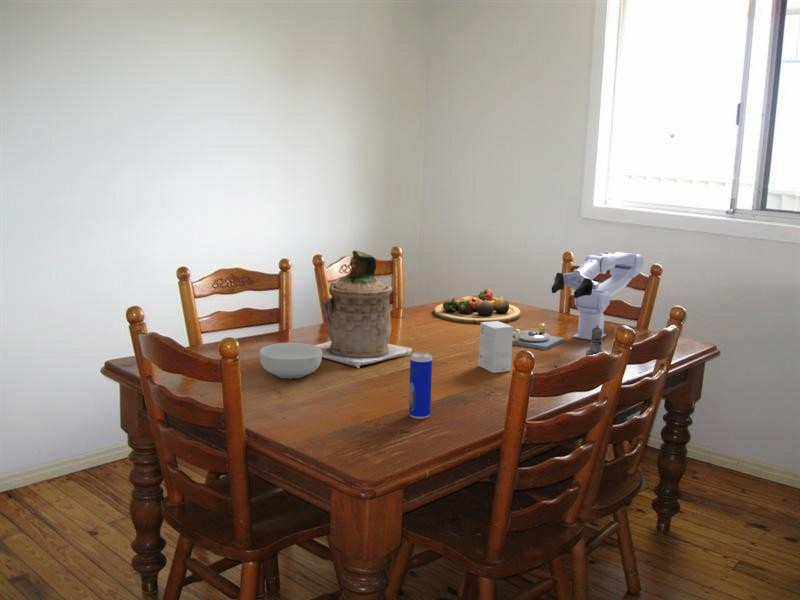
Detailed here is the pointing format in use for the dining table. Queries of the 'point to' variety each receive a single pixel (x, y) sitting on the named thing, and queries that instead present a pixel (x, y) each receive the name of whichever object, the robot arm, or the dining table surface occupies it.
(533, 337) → the flange plate
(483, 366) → the small box
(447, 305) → the wooden plate with food
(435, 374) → the dining table surface
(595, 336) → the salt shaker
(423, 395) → the beverage can
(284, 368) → the cereal bowl
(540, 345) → the jig board
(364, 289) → the cookie jar
